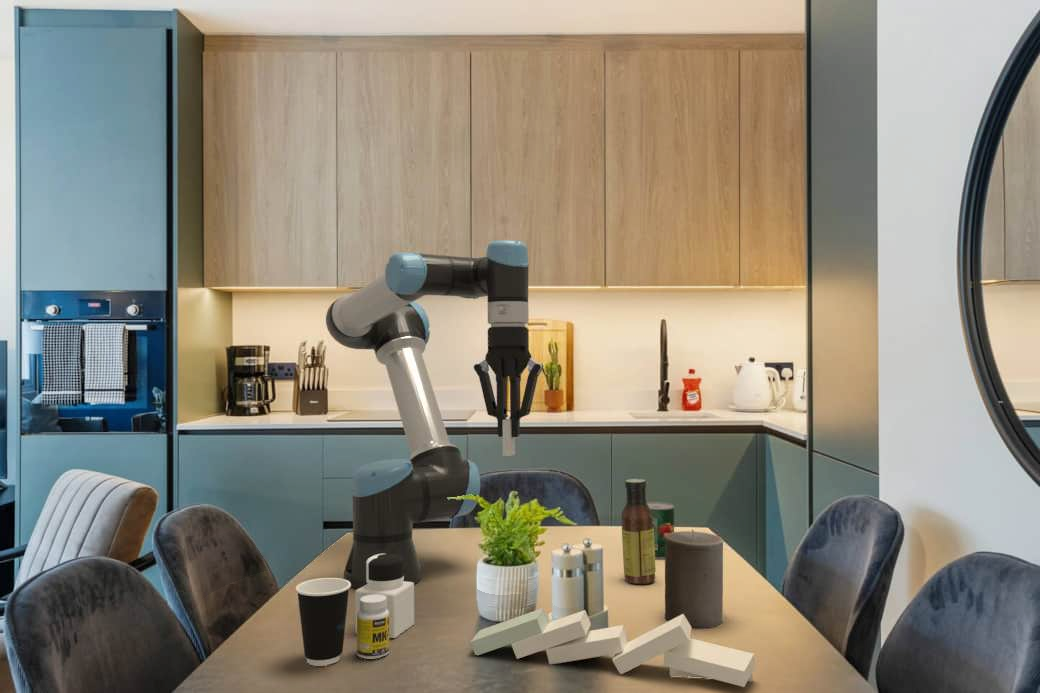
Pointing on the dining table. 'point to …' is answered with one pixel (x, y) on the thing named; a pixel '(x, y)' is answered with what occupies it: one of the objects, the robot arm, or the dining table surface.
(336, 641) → the dixie cup
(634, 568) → the sauce bottle
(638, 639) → the domino
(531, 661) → the dining table surface
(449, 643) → the dining table surface
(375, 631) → the supplement bottle
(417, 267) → the robot arm
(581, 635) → the domino
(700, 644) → the domino
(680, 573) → the pillar candle
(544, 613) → the grey-green tall block
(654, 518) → the canned tomato
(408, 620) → the white bottle
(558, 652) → the domino
